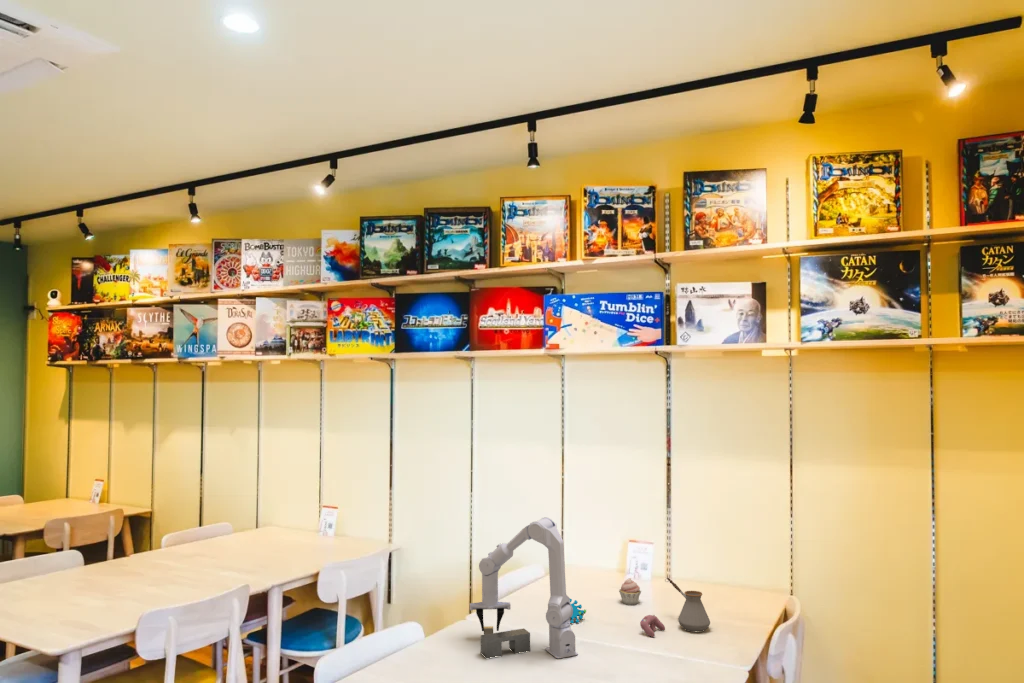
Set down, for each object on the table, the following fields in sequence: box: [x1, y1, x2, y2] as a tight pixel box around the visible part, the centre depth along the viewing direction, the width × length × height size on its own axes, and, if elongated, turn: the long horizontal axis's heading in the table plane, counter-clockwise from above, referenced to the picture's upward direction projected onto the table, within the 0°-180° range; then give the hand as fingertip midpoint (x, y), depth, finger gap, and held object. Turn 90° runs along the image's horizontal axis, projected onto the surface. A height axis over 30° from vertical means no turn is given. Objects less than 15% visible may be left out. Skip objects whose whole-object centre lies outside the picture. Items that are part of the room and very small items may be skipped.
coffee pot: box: [664, 576, 711, 632], centre depth 256 cm, size 21×12×15 cm, turn 25°
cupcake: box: [618, 577, 642, 606], centre depth 282 cm, size 9×9×10 cm
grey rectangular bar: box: [483, 625, 494, 635], centre depth 241 cm, size 11×3×3 cm, turn 2°
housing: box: [480, 628, 531, 659], centre depth 230 cm, size 5×16×6 cm, turn 113°
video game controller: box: [639, 614, 666, 638], centre depth 248 cm, size 10×5×7 cm, turn 141°
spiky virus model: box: [570, 598, 587, 624], centre depth 262 cm, size 11×6×10 cm
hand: (490, 630), depth 242 cm, fingers open, 5 cm apart
